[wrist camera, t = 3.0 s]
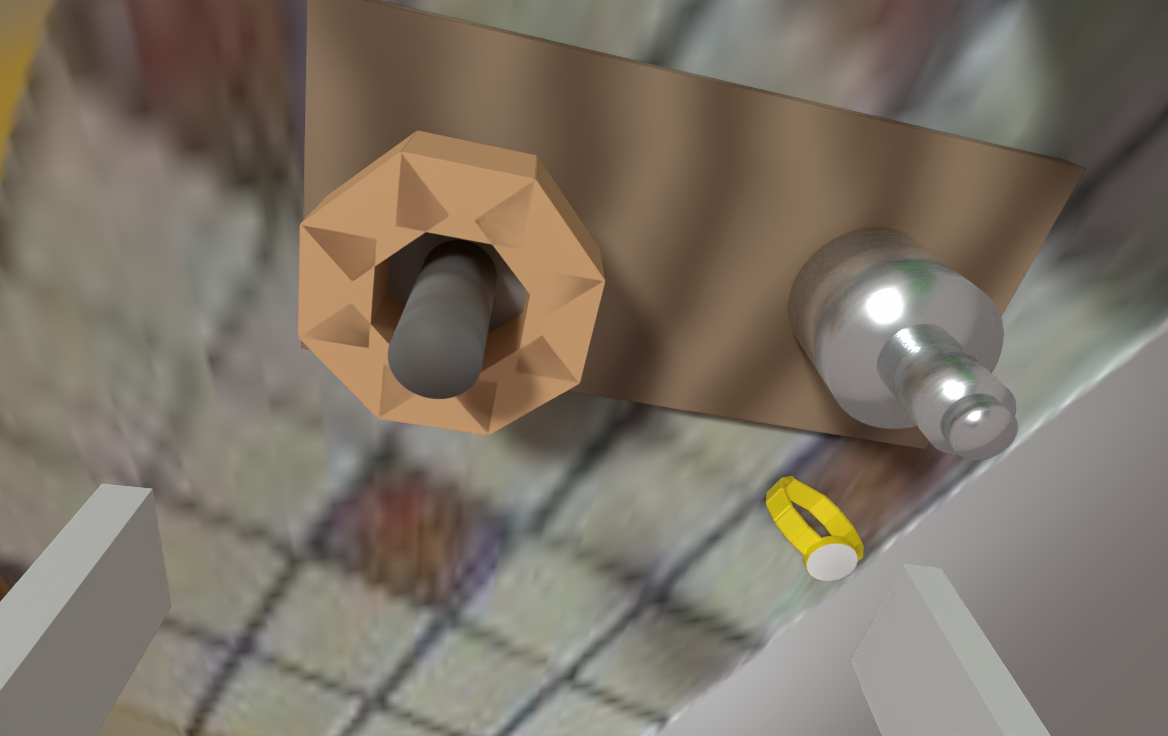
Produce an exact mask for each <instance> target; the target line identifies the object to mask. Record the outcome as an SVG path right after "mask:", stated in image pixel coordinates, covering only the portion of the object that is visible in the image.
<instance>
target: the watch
mask: <svg viewBox="0 0 1168 736" xmlns="http://www.w3.org/2000/svg"><path fill="white" fill-rule="evenodd" d="M791 501H792V502H794V503H796V504H798V505H800V506H801V507H803V508H805V509H807V510H809V512H810V513H812V514H813V515H814V516H815V517H816V518H817V519H818V520H819V521H820V522H821V523H822V524H823V525H824V526H825V528H826V529H827V530H828V532H829V533H830V534H831V536H826V537H821V536H820V535H819V534H818V533H816V532H815V531H814V530H813V529H812V528H811V527H810V526H808V524H807V523H806V522H805V520H804V519H803V518H802V517H801V516H800V514H799V513H798V512H797V511H796V509H795V508H794V507H793V505H792V503H791ZM766 504H767V508H768V510H769V512H770V514H771V516H772V518H773V521H774V522H775V524H776V525H777V526H778V528H779V529H780V530H781V532H782V533H783V534H784V535H785V537H786V538H787V539H788V541H790V542H791V544H792V545H793V546H794V547H795V548H797V549H798V550H799V551H800V552H801V553H802V554H803V562H804V565H805V567H806V570H807V571H808V573H809V574H810V575H811V576H812V577H813V578H815V579H818V580H822V581H833V580H838V579H841V578H843V577H845V576H847V575H848V574H850V573H851V572H852V571H853V570H854V568H855V567H856V564H857V562H858V561H860V560H861V559H862V558H863V544H862V542H861V540H860V537H859V535H858V533H857V531H856V530H855V528H854V527H853V525H852V524H851V523H850V521H849V520H848V519H847V518H846V516H845V515H844V514H843V512H840V509H839V508H838V507H837V506H836V505H835V504H834V503H833V502H832V501H831V500H830V499H828V498H827V497H826V496H825V495H823V494H821V493H820V492H818V491H816V490H814V489H812V488H811V487H809V486H807V485H805V484H804V483H802V482H800V481H798V480H796V479H795V478H793V476H787V477H783V478H781V479H780V480H779V481H778V482H777V483H776V484H775V485H774V486H773V487H772V488H771V489H770V490H769V491H768V492H767V497H766Z"/></svg>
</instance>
